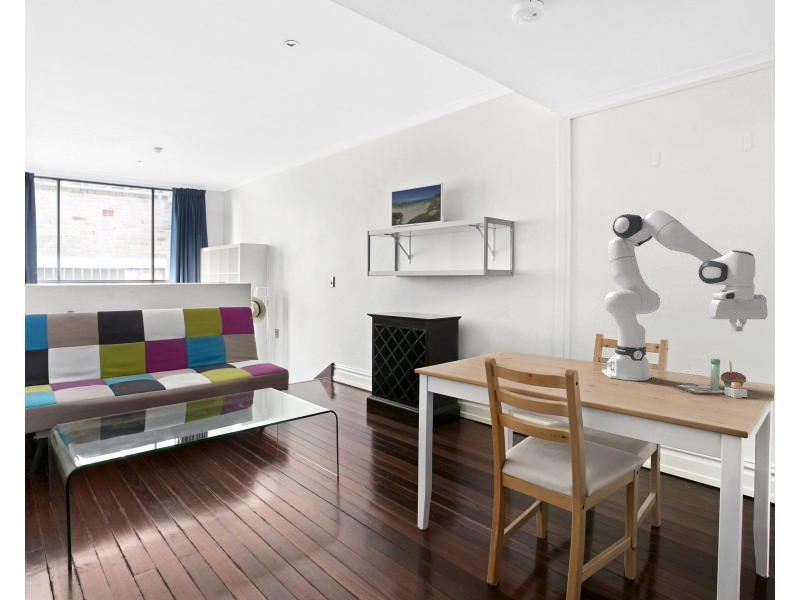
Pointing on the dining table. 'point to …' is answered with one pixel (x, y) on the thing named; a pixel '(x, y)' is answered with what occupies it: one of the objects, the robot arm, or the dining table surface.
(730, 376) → the cupcake
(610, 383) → the dining table surface
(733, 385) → the button
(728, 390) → the button housing
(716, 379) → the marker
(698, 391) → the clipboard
